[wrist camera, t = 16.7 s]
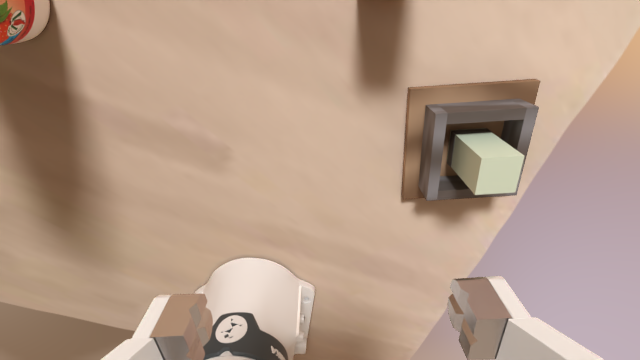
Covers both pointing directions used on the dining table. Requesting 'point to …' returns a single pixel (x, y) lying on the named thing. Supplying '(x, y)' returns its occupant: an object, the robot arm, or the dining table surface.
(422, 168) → the socket board
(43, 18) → the fruit juice
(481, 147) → the sage peg
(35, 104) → the dining table surface
